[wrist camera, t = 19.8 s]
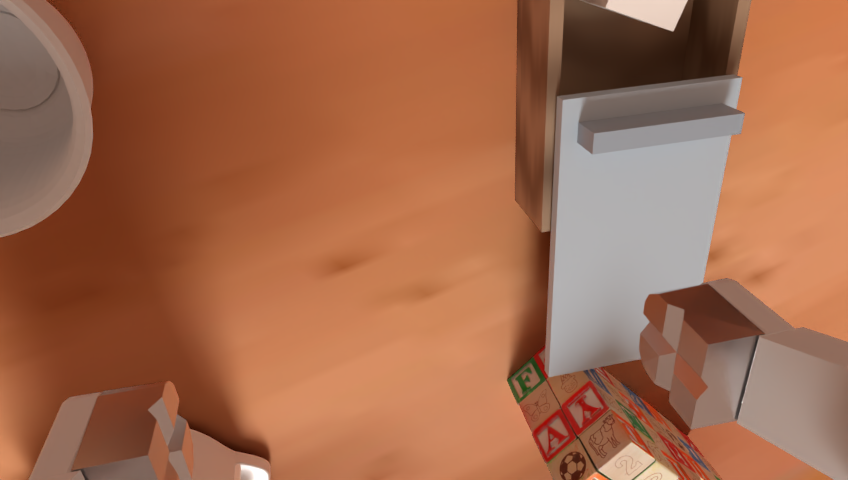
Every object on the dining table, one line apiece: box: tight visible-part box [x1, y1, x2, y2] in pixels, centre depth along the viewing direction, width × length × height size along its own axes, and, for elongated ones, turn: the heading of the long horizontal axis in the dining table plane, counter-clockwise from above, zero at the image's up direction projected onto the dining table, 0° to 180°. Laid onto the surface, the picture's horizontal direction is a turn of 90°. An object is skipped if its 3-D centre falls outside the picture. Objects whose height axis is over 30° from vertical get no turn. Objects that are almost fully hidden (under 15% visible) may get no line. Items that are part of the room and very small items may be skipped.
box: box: [515, 0, 751, 232], centre depth 37 cm, size 20×12×5 cm, turn 4°
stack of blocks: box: [507, 345, 722, 480], centre depth 50 cm, size 21×6×12 cm, turn 46°
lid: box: [544, 74, 745, 377], centre depth 39 cm, size 20×11×3 cm, turn 4°
